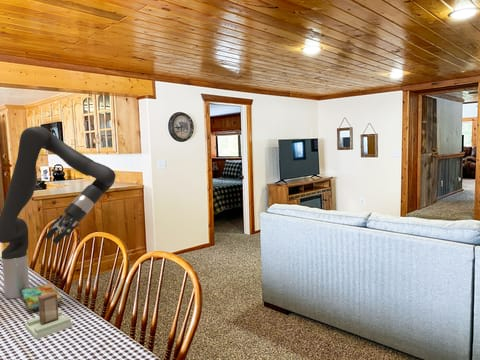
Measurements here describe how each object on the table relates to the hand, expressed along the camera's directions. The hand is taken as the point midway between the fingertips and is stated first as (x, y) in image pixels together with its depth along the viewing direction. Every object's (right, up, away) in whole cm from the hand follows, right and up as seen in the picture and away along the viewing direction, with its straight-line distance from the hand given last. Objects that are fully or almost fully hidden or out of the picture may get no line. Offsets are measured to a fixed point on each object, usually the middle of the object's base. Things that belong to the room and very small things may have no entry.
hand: (50, 240), depth 139 cm
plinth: (+5, -29, -11) cm, 31 cm away
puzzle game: (-9, -28, +10) cm, 31 cm away
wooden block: (+5, -27, -11) cm, 30 cm away
